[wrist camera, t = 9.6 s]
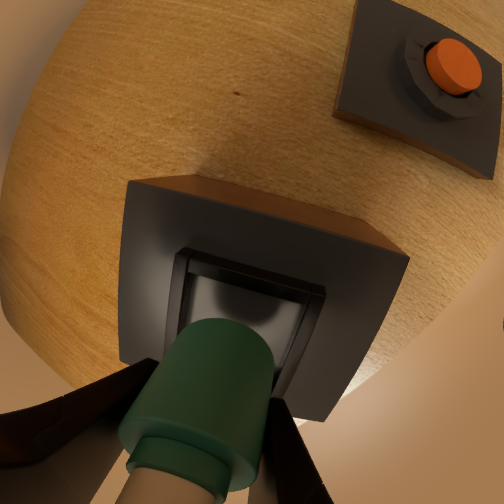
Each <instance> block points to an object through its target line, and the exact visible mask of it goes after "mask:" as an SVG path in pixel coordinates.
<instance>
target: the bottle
mask: <svg viewBox="0 0 504 504" xmlns="http://www.w3.org/2000/svg"><path fill="white" fill-rule="evenodd" d="M273 374H274V357H273V354H272V351H271V349H270V347H269V346H268V344H267V343H266V341H265V340H264V339H263V338H262V337H261V336H260V335H259V334H258V333H257V332H255V331H254V330H252V329H251V328H249V327H248V326H246V325H244V324H241V323H239V322H236V321H233V320H229V319H224V318H206V319H201V320H198V321H195V322H193V323H191V324H189V325H188V326H186V327H185V328H184V329H183V330H182V331H181V332H180V334H179V335H178V337H177V338H176V340H175V341H174V342H173V344H172V345H171V347H170V348H169V350H168V351H167V353H166V354H165V356H164V357H163V359H162V360H161V362H160V363H159V365H158V366H157V368H156V369H155V371H154V372H153V374H152V375H151V377H150V378H149V380H148V381H147V383H146V384H145V386H144V387H143V389H142V390H141V392H140V393H139V395H138V396H137V398H136V399H135V401H134V402H133V404H132V405H131V407H130V408H129V410H128V411H127V413H126V414H125V416H124V417H123V419H122V420H121V422H120V423H119V426H118V437H119V440H120V442H121V444H122V446H123V447H124V448H125V450H126V451H127V452H128V453H129V454H130V458H129V459H128V461H127V463H126V469H127V471H128V473H129V474H130V476H129V478H128V480H127V482H126V483H125V485H124V488H123V489H122V491H121V493H120V495H119V497H118V499H117V500H116V502H115V504H223V503H224V502H225V500H226V497H227V494H228V492H234V491H239V490H242V489H245V488H247V487H249V486H251V485H252V484H253V483H254V482H255V481H256V479H257V477H258V473H259V467H260V461H261V455H262V449H263V443H264V437H265V430H266V424H267V417H268V410H269V404H270V396H271V389H272V382H273Z"/></svg>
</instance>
